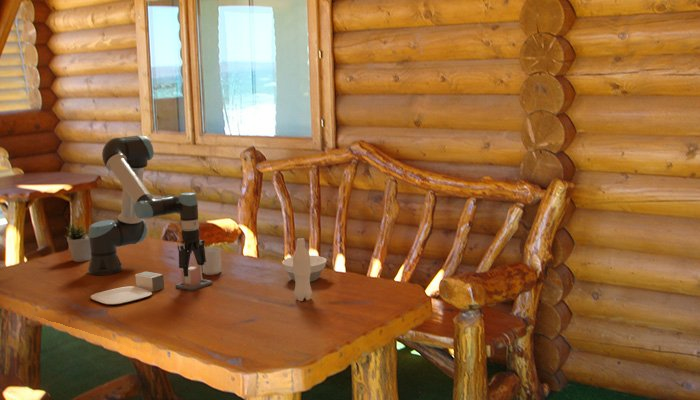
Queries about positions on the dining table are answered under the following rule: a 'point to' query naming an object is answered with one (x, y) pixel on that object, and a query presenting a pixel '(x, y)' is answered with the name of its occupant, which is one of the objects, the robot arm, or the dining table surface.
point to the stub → (192, 276)
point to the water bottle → (302, 271)
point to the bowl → (315, 264)
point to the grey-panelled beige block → (149, 281)
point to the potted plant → (79, 244)
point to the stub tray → (195, 287)
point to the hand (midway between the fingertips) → (193, 281)
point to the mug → (212, 261)
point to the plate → (121, 295)
